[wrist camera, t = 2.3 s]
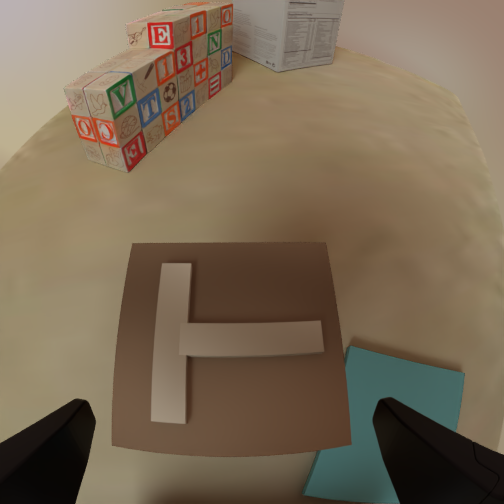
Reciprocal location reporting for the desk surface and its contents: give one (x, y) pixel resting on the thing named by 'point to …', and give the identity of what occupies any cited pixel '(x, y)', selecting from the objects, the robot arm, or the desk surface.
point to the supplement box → (286, 31)
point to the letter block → (229, 351)
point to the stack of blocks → (152, 82)
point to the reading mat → (362, 430)
